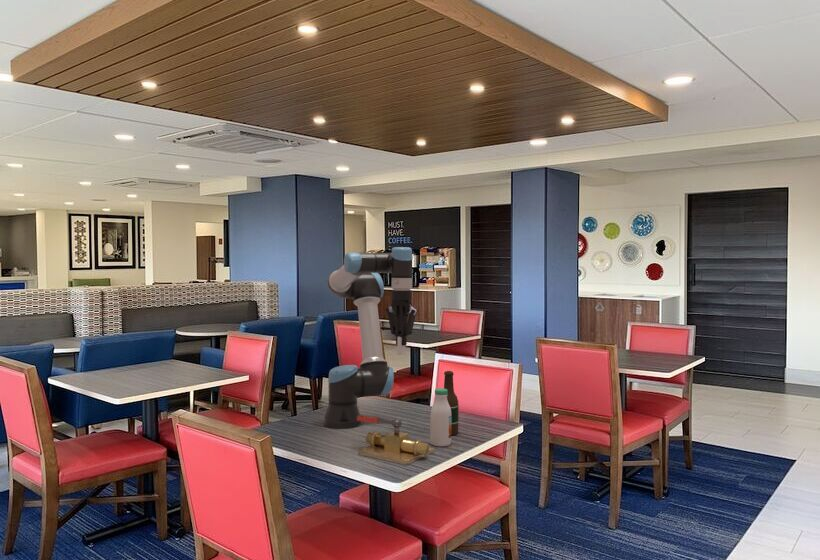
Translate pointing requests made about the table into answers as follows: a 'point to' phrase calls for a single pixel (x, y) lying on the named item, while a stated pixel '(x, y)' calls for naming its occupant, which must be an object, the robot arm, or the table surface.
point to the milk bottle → (440, 419)
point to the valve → (395, 447)
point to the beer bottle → (452, 400)
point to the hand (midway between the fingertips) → (401, 354)
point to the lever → (379, 420)
